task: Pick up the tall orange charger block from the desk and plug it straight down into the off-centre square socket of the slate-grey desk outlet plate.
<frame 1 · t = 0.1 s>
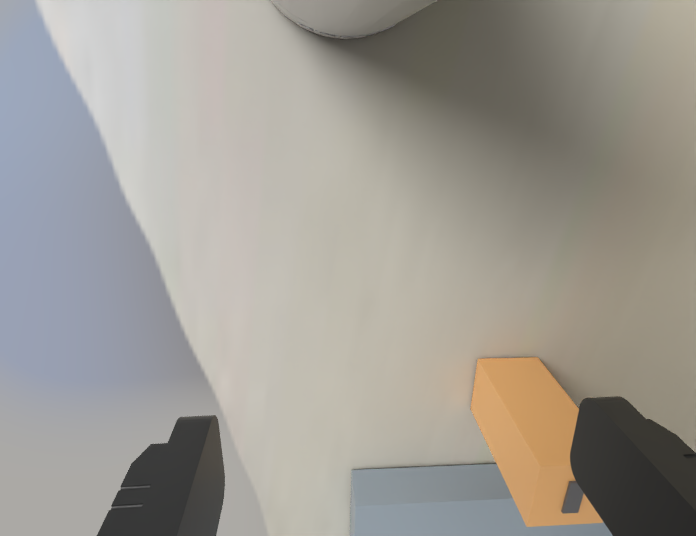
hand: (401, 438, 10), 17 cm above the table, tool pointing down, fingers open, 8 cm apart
charger: (503, 383, 31), on the table
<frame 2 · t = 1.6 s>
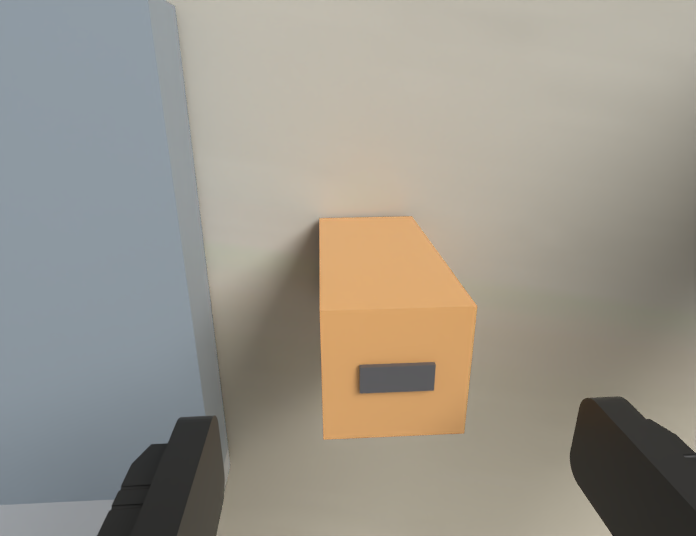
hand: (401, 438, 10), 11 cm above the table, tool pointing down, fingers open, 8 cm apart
charger: (365, 260, 21), on the table
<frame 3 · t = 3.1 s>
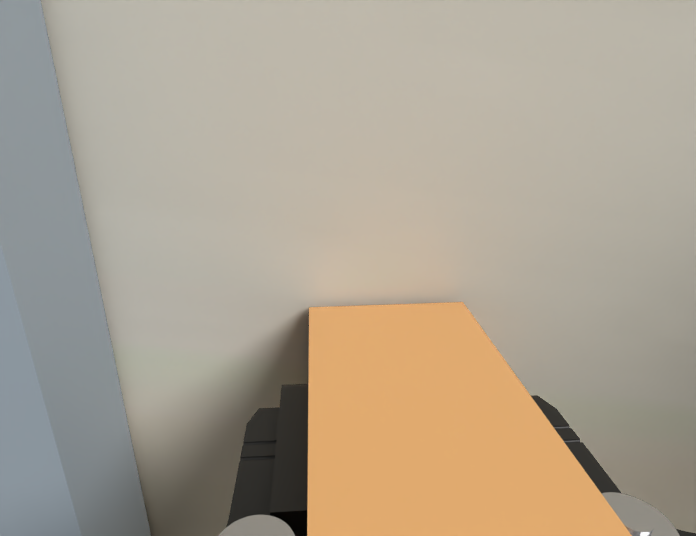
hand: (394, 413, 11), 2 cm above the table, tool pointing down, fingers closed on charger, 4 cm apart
charger: (384, 371, 13), on the table, touching gripper
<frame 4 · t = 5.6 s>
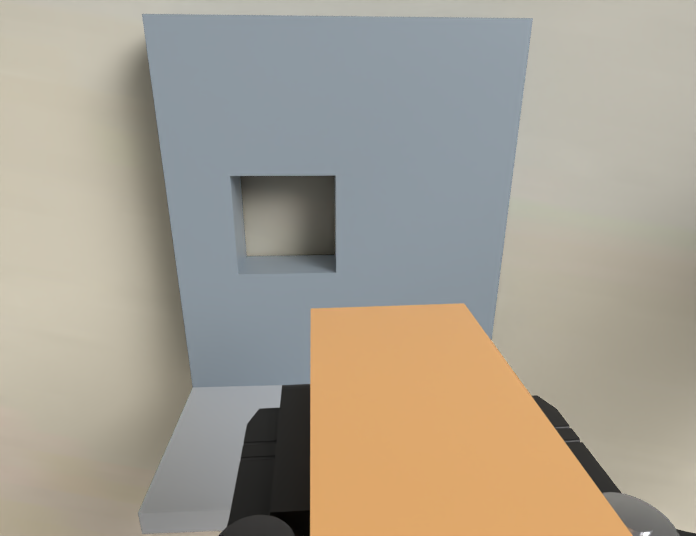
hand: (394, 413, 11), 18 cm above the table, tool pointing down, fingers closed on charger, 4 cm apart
charger: (386, 372, 13), point 16 cm above the table, touching gripper
outlet plate: (339, 212, 28), on the table
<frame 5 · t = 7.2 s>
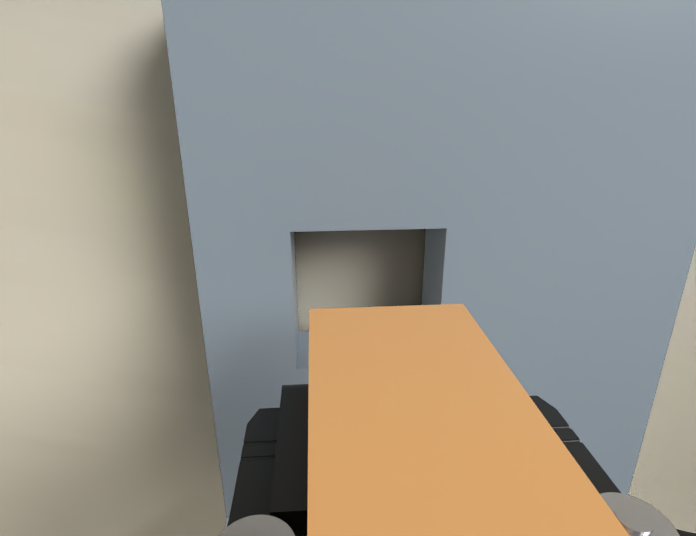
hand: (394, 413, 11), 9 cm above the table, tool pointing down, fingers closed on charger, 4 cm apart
charger: (384, 372, 13), point 8 cm above the table, touching gripper
outlet plate: (430, 270, 20), on the table
when the fingers open (5 cm above the table, at t = 8.5 s): charger drops 3 cm, resting in outlet plate.
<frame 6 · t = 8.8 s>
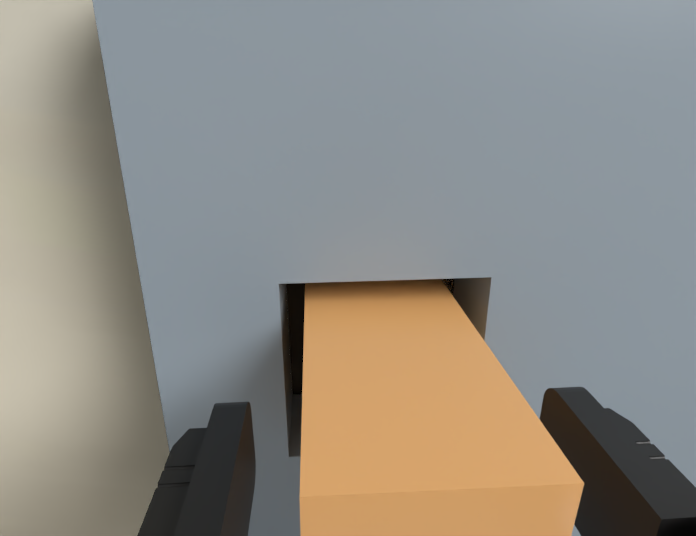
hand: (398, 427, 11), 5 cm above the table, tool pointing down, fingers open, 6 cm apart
charger: (366, 321, 16), resting in outlet plate
outlet plate: (459, 318, 16), on the table
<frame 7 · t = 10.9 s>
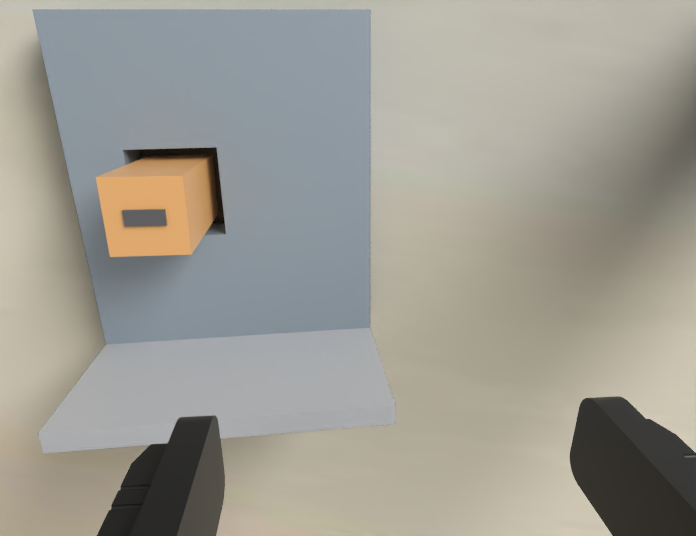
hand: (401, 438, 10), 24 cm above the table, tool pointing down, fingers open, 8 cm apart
charger: (185, 185, 32), resting in outlet plate
outlet plate: (232, 183, 32), on the table
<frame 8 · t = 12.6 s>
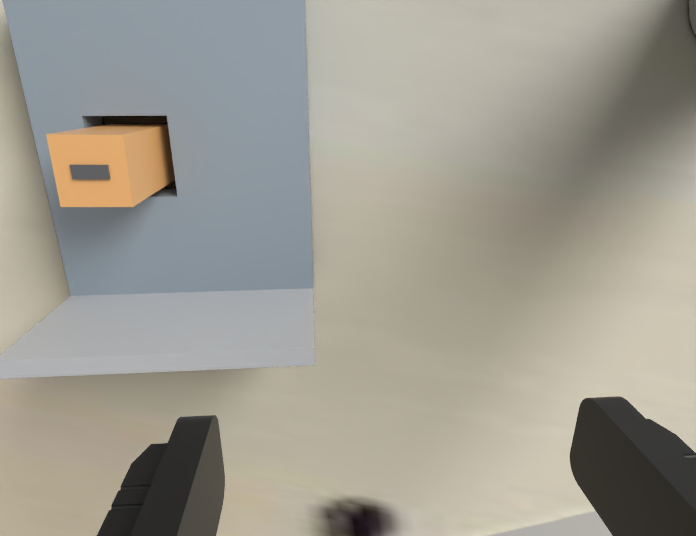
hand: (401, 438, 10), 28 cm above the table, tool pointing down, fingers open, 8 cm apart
charger: (144, 152, 35), resting in outlet plate
outlet plate: (187, 151, 35), on the table
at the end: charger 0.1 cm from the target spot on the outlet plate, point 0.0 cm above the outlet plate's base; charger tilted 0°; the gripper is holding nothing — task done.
